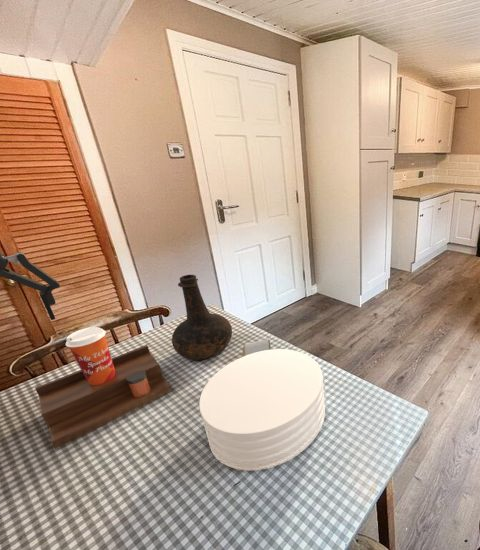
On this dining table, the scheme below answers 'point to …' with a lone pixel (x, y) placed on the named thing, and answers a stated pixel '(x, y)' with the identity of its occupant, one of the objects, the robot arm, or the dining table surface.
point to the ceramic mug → (256, 347)
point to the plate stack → (263, 408)
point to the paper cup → (92, 354)
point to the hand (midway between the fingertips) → (10, 329)
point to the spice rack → (97, 397)
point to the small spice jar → (138, 383)
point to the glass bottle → (199, 326)
